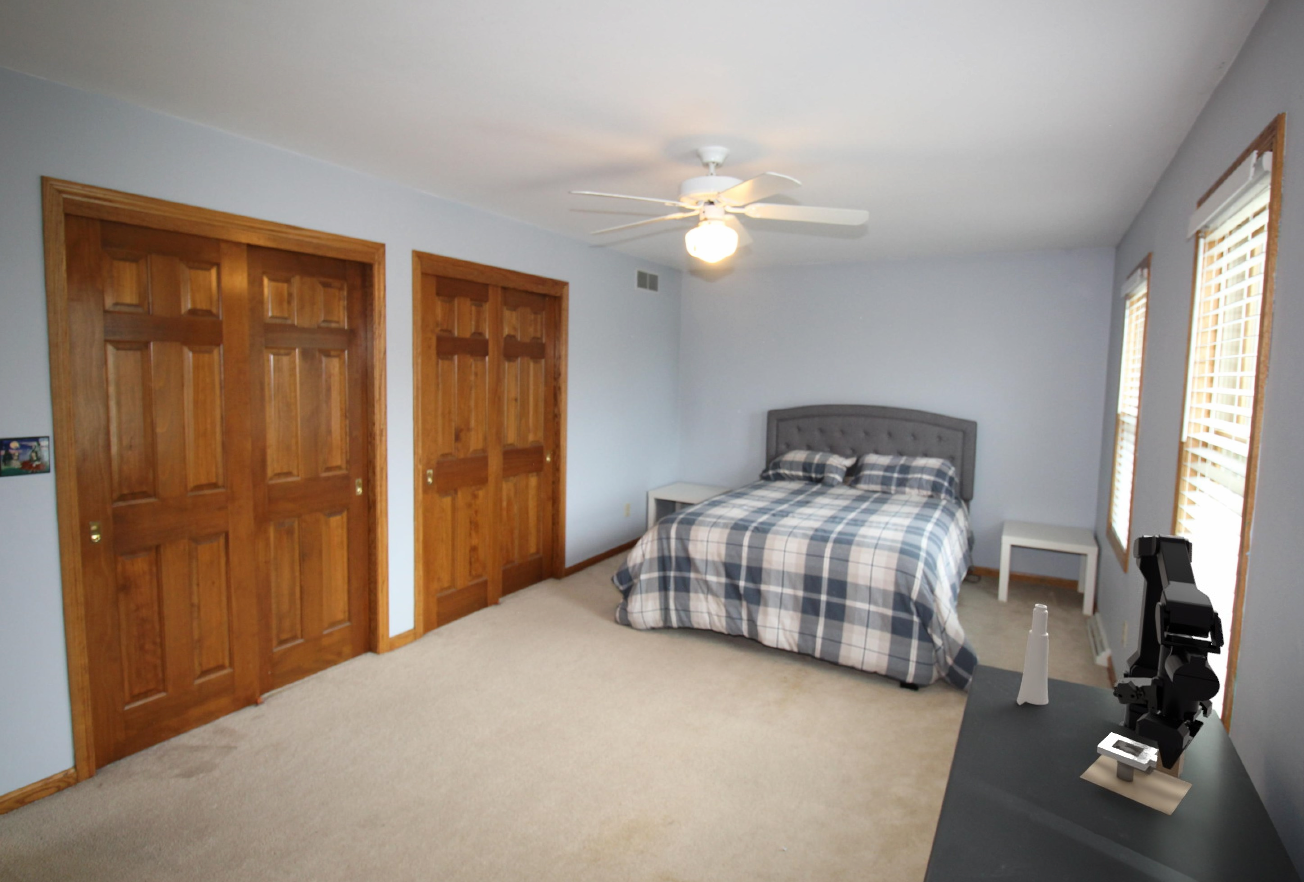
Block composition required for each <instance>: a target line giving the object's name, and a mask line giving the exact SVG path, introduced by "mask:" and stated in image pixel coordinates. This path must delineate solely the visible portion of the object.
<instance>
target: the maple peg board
mask: <svg viewBox="0 0 1304 882" xmlns="http://www.w3.org/2000/svg"><path fill="white" fill-rule="evenodd" d="M1117 749H1118V750H1120V751H1123V752H1126V753H1128V754H1131V755H1134V756H1136V757H1138V756H1139V755H1140V754H1139V753H1137V752H1135V751H1134V750H1133V749H1131V748H1128V747H1121V746H1118V748H1117ZM1079 778H1080V779H1083V780H1084V781H1088V782H1090V783H1091V784H1095V785H1097V786H1099V787H1102V788H1105V789H1106V790H1109V791H1111V792H1114V793H1115V794H1118V795H1121V796H1123V797H1126V798H1127V799H1130V800H1133V801H1135V802H1137V803H1140V804H1142V805H1144V806H1147V807H1149V808H1152V809H1153V810H1156V811H1159V812H1162V813H1164V814H1166V815H1168V816H1172V815H1173V813H1174V811H1175V810H1176V808H1177V807H1178V806H1179V804H1180V803H1181V801H1183V799H1184V797H1185V796H1186V794H1187V793H1188V792H1189V790H1190V789H1191V788H1192V786H1193V784H1192V783H1190V782H1187V781H1184V780H1183V779H1180V778H1176V777H1174V776H1171V775H1169V774H1166V773H1163V772H1161V771H1158V770H1156V769H1155V768H1154V767H1152V766H1149V767H1148V768H1147V769H1146V770H1145V771H1143V770H1141V769H1138V768H1135V767H1133V766H1130V765H1128V764H1125V763H1123V762H1120V761H1117V760H1115V759H1112V758H1110V757H1107V756H1105V755H1102V754H1100V756H1099V757H1098V758H1097V759H1096V760H1095V761H1094V762H1093V763H1092V764H1091V765H1090V766H1089V767H1088V768H1087V769H1086V770H1085V771H1084V772H1083V773H1082V774H1081V775H1080V776H1079Z"/></svg>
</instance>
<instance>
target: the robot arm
mask: <svg viewBox="0 0 1304 882" xmlns="http://www.w3.org/2000/svg"><path fill="white" fill-rule="evenodd" d="M1132 547H1133V548H1132V555H1133V558H1134V559H1135V565H1136V566H1137V568H1138V570H1139V572H1140V574H1141V576H1142V577H1143V588H1142V596H1141V597H1142V598H1141V599H1142V600H1141V610H1140V618H1139V630H1138V640H1137V647H1136V651H1135V652H1134V653H1133V654H1131V655H1130V657H1128V659H1127V660H1126V662H1125V669H1124V670H1122V671H1121V673H1120V675H1119V677H1118V680H1117V681H1116V682H1115V683H1114V684H1113V692H1112V695H1113V696H1114V697H1115V698H1117V699H1118V703H1119V704H1121V705H1125V706H1124V707H1125V708H1124V709H1125V710H1124V716H1123V717H1124V718H1123V720H1121V721H1120V723H1119V724H1118V726H1121V727H1125V728H1127V729H1130V730H1132V731H1135V733H1136V734H1137V735H1138V736H1141V737H1143V738H1146V739H1148V740H1150V741H1154V742H1156V743H1157V749H1158V748H1159V752H1160V757H1161V761H1162V766H1163V767H1164V768H1167V769H1169V770H1171V769H1172V767H1173V766H1174V764H1175V763H1176V761H1177V760H1178V759H1179V757H1180V756H1181V754H1182V753H1183V751H1184V750H1185V751H1186V750H1187V749H1188V747H1189V745H1190V744H1191V743H1192V742H1193V741H1194V738H1196V736H1197V735H1198V733H1199V732H1200V731H1201V729H1202V728H1203V726H1204V724H1205V723H1204V722H1203V721H1201V720H1200V719H1197V718H1198V717H1199V716H1200V715H1201V713H1202V717H1203V718H1207V719H1209V717H1210V716H1211V714H1212V711H1213V702H1212V699H1213V698H1214V697H1216V696H1217V695H1218V693H1219V691H1220V689H1221V683H1220V679H1219V677H1218V676H1217V674H1216V672H1215V671H1214V669H1213V668H1212V665H1210V663H1209V661H1208V660H1209V659H1208V658H1209V657H1208V655H1209V654H1214V655H1215V654H1216V655H1221V654H1222V653H1221V652H1222V651H1221V648H1222V647H1223V646H1224V645H1225V640H1224V639H1225V638H1224V632H1223V625H1222V618H1220V617H1219V612H1218V611H1217V610H1215V609H1214V607H1213V604H1212V602H1211V599H1210V597H1209V595H1208V594H1206V593H1204V592H1203V591H1201V590H1200V589H1198V586H1197V584H1196V580H1195V579H1196V578H1195V575H1194V571H1193V568H1192V562H1193V542H1191V541H1190V540H1189V538H1185V537H1184V536H1180V535H1171V534H1160V533H1159V534H1158V535H1157V534H1154V535H1142V536H1140V537H1137V538H1135V539H1134V542H1133V546H1132ZM1209 635H1210V636H1209ZM1194 637H1195V638H1194ZM1209 637H1210V640H1206V639H1209ZM1201 638H1202V639H1201Z"/></svg>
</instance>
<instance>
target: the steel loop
mask: <svg viewBox="0 0 1304 882" xmlns="http://www.w3.org/2000/svg"><path fill="white" fill-rule="evenodd" d="M1120 746H1121V747H1128V748H1131V749H1133V750H1134V751H1135V752H1137V753H1139V754H1140V755H1139V756H1138V757H1136V756H1134V755H1131V754H1128V753H1126V752H1123V751H1120V750H1118V748H1117V747H1120ZM1096 753H1097V754H1100V755H1105V756H1107V757H1110V758H1112V759H1115V760H1117V761H1120V762H1123V763H1125V764H1128V765H1130V766H1133V767H1135V768H1138V769H1141V770H1143V771H1145V770H1146V769H1147V768H1148V767H1149V766H1152V767H1154V769H1155V770H1157V771H1159V772H1162V773H1164V774H1167V775H1170V776H1172V777H1175V778H1177V779H1179V777H1180V776H1181V774H1182V773H1183V772H1184V763H1185V757H1186V756H1185V755H1186V750H1184V751H1183V753H1182V754H1181V756H1180V757H1179V759H1178V760H1177V761H1176V763H1175V764H1174V766H1173V767H1172V769H1171V770H1169V769H1167V768H1164V767H1163V766H1162V761H1161V757H1160V752H1159V748H1158V747H1157V748H1155V747H1152V746H1149V745H1147V744H1143V743H1141V742H1138V741H1135V740H1133V739H1130V738H1127V737H1126V736H1122V735H1119V734H1117V733H1113V732H1110V733H1109V734H1108V736H1106V737H1105V738H1104V739H1103V740H1102V741H1101V742H1100V743H1099V744H1098V745H1097V750H1096Z"/></svg>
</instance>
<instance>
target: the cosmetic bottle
mask: <svg viewBox="0 0 1304 882" xmlns="http://www.w3.org/2000/svg"><path fill="white" fill-rule="evenodd" d="M1047 609H1048V606H1047V605H1045V604H1041V603H1036V604H1035V605H1034V608H1033V609H1032V620H1031V629H1030V630H1028V631H1029V632H1028V636H1027V642H1026V643H1027V644H1026V649H1025V658H1024V663H1023V664H1024V665H1023V673H1022V679H1021V684H1020V687H1019V692H1018V695H1017V697H1016V703H1017V704H1018V705H1019V706H1021V705H1023V704H1024V703H1029V704H1032V705H1037V706H1045V705H1047V704H1049V693H1048V673H1049V672H1048V671H1049V670H1048V667H1049V664H1048V663H1049V640H1050V639H1049V638H1050V636H1049V633H1048V632H1047V629H1048V617H1049V611H1048V610H1047Z"/></svg>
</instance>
